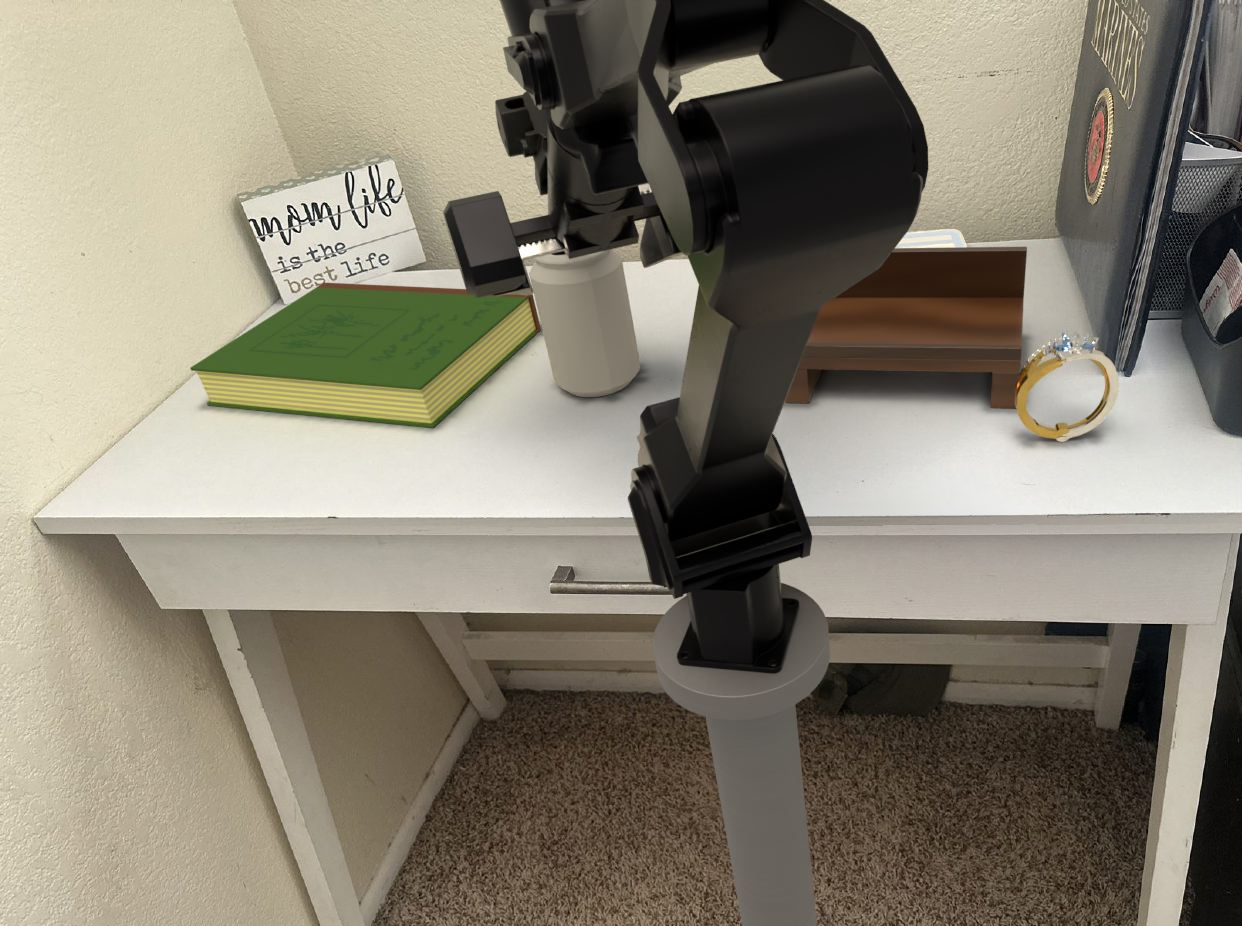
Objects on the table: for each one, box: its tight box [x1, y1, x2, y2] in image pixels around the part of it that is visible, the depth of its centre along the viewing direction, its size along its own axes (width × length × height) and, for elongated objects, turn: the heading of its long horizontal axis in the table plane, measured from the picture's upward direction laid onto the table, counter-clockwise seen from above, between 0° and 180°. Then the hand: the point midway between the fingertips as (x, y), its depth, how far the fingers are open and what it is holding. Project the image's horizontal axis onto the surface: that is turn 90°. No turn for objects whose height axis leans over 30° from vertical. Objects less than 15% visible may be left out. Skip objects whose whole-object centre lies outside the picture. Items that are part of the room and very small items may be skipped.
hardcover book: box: [189, 282, 542, 429], centre depth 94 cm, size 25×19×4 cm
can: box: [528, 239, 641, 398], centre depth 84 cm, size 8×8×12 cm
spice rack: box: [785, 246, 1028, 409], centre depth 81 cm, size 12×18×8 cm, turn 76°
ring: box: [1014, 329, 1120, 443], centre depth 71 cm, size 7×3×8 cm, turn 86°
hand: (586, 275), depth 78 cm, fingers open, 9 cm apart
